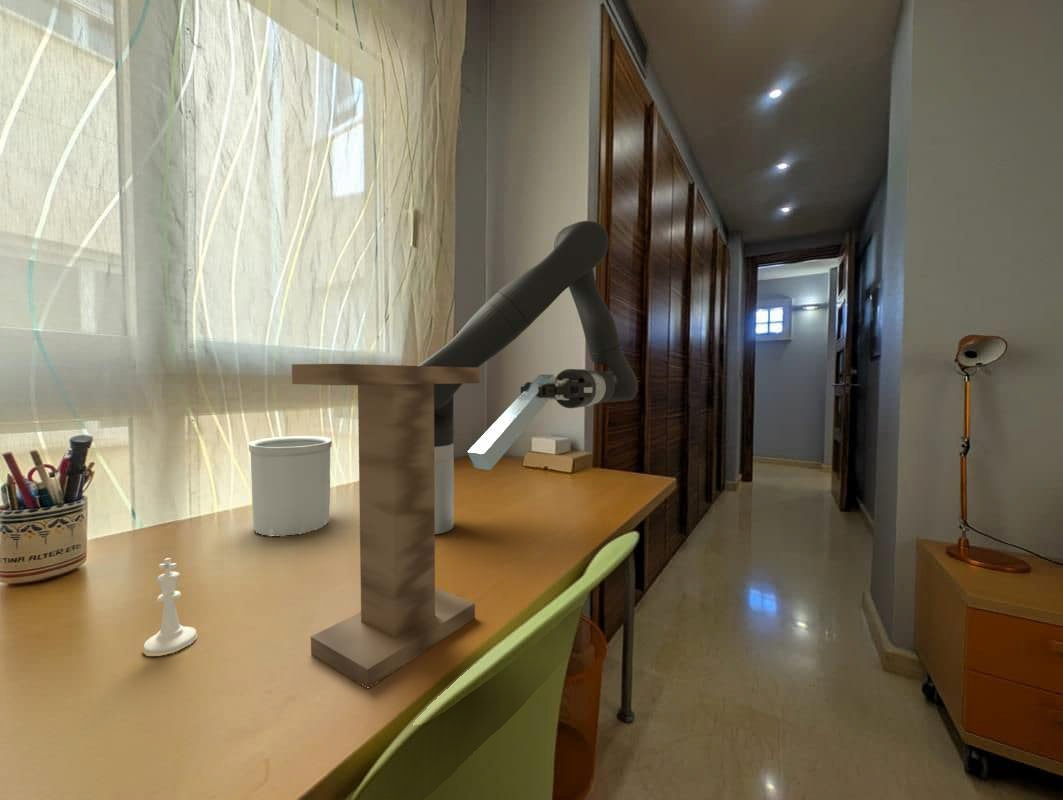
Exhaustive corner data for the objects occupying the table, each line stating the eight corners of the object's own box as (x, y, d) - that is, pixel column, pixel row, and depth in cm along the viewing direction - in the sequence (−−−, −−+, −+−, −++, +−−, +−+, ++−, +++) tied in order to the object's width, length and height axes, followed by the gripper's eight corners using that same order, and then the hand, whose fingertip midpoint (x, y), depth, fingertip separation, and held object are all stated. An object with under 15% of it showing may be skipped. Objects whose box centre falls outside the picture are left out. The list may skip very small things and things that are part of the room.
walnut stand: (431, 591, 66) (429, 367, 64) (484, 611, 60) (485, 367, 58) (293, 663, 49) (286, 364, 47) (349, 701, 43) (344, 363, 42)
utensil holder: (347, 522, 96) (346, 439, 95) (276, 544, 83) (274, 448, 82) (307, 510, 104) (305, 434, 103) (236, 529, 91) (233, 441, 90)
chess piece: (163, 632, 55) (160, 551, 54) (206, 631, 55) (204, 549, 54) (130, 658, 50) (127, 568, 49) (179, 656, 50) (175, 567, 50)
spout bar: (543, 389, 82) (539, 374, 81) (558, 389, 80) (553, 374, 79) (474, 467, 67) (467, 451, 66) (490, 470, 65) (483, 453, 64)
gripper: (549, 369, 94) (498, 368, 80) (612, 368, 86) (568, 368, 72) (549, 405, 95) (498, 411, 80) (612, 408, 87) (568, 415, 72)
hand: (531, 391), depth 76 cm, fingers closed on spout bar, 3 cm apart
